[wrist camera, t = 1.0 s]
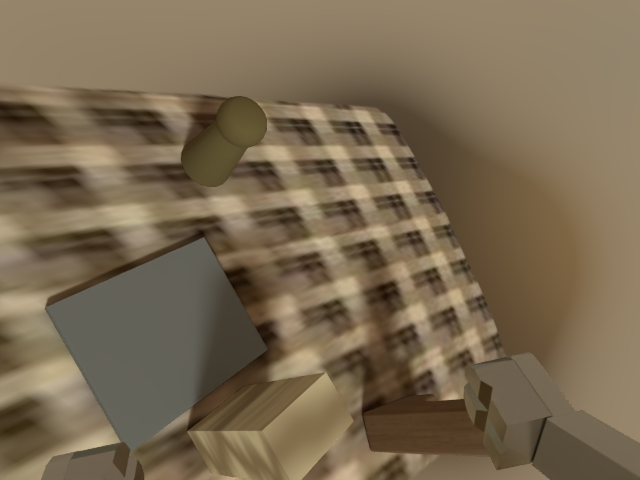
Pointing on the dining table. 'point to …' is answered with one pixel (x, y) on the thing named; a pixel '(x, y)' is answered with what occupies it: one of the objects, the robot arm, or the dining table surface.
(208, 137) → the olive peg figure
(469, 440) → the wooden block
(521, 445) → the robot arm
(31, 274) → the dining table surface
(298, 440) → the pine block
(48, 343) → the dining table surface
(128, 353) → the grey mat
